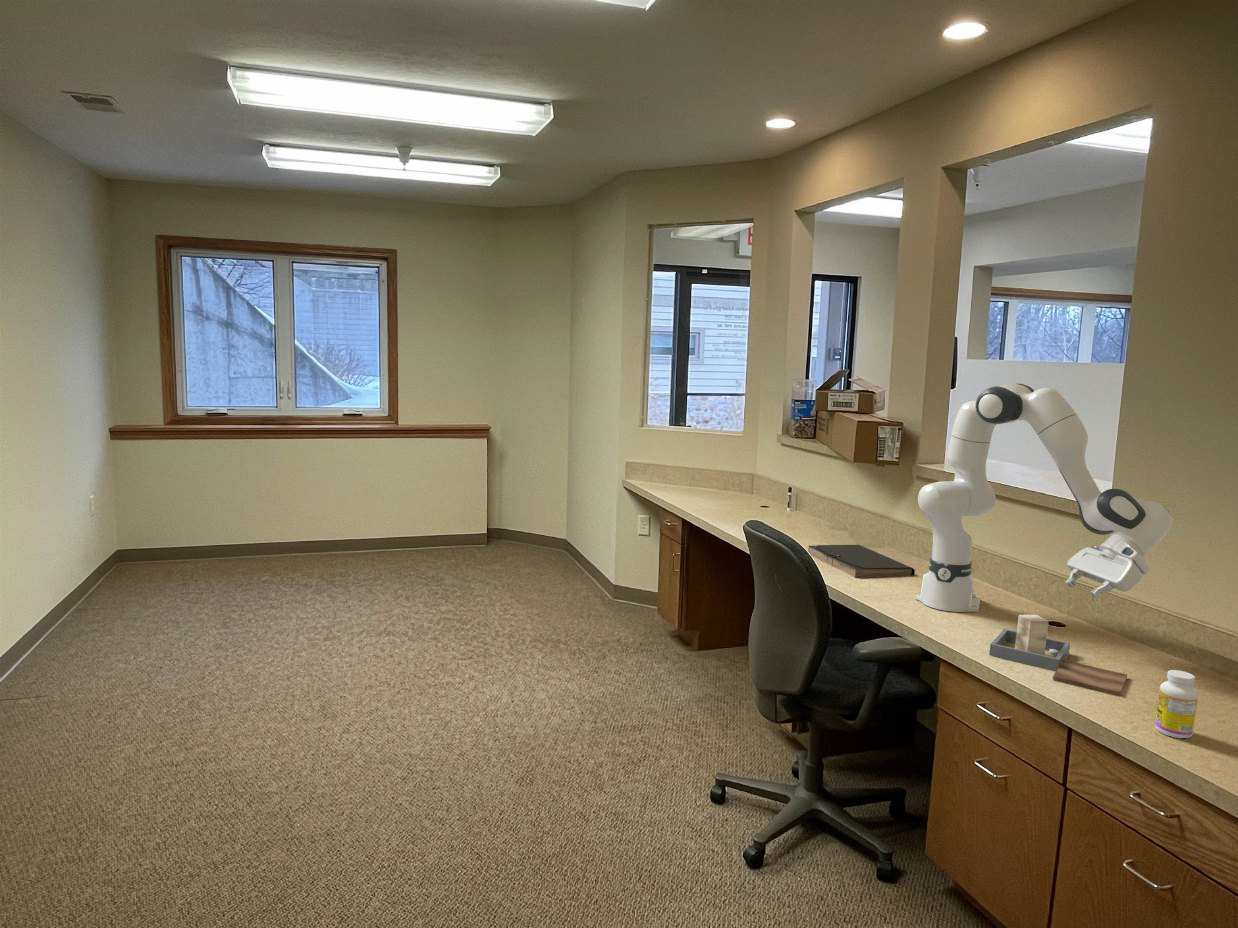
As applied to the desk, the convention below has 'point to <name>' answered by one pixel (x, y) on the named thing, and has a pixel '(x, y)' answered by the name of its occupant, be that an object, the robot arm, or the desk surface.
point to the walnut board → (1090, 677)
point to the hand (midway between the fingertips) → (1080, 590)
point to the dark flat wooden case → (859, 561)
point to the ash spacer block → (1031, 634)
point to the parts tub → (1043, 661)
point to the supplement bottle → (1177, 705)
